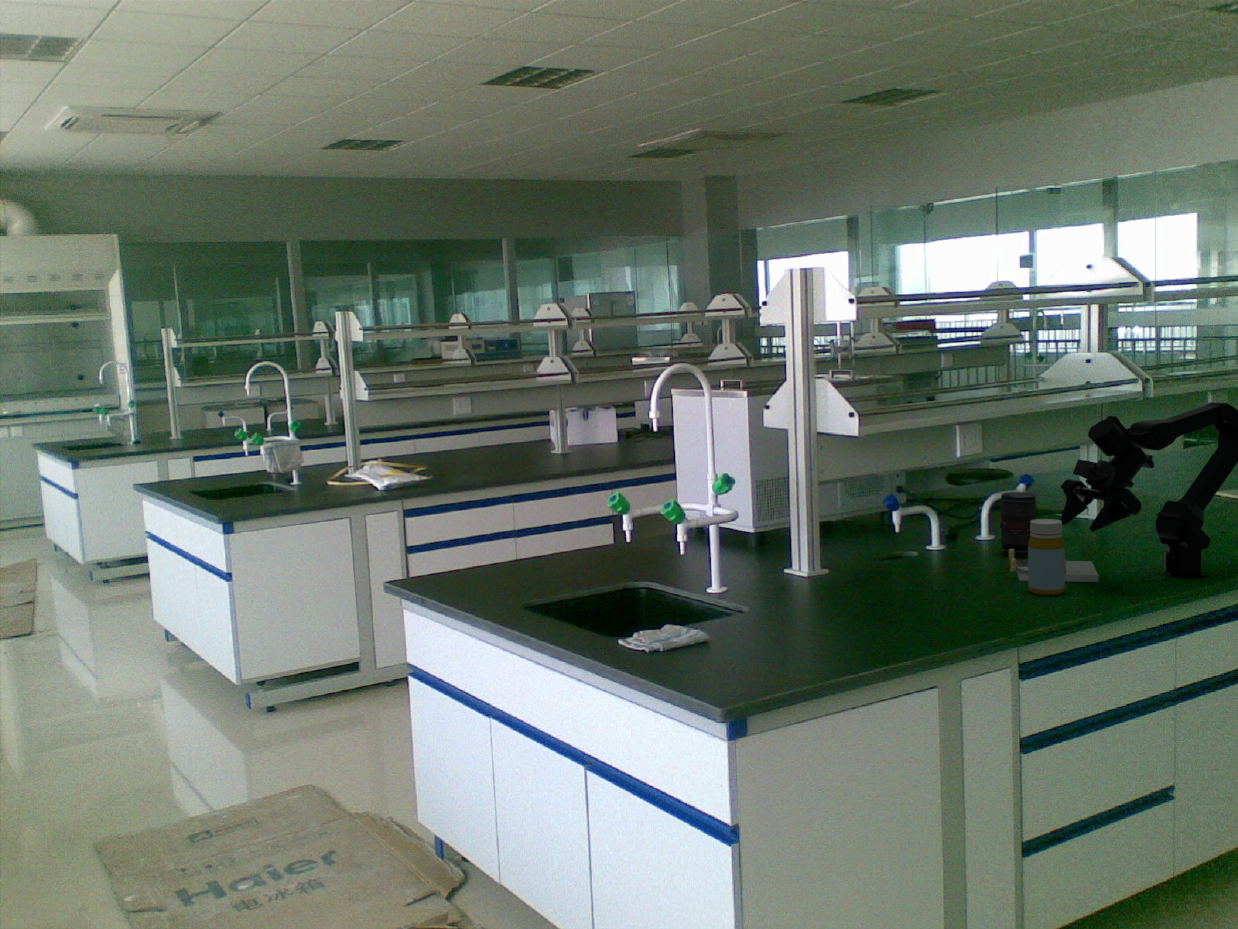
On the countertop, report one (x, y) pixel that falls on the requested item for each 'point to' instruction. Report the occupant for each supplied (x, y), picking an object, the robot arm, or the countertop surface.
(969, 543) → the countertop surface
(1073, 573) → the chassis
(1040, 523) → the bottle
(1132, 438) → the robot arm
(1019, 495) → the camera lens
